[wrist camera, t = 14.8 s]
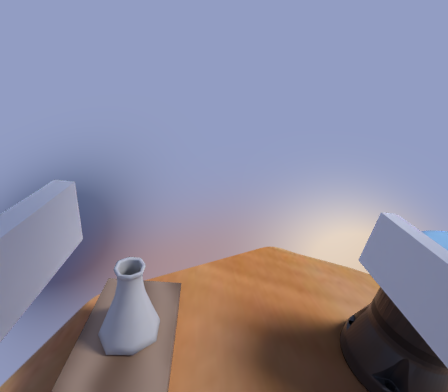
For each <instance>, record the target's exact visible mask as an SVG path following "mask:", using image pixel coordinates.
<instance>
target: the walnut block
mask: <svg viewBox="0 0 448 392" xmlns="http://www.w3.org/2000/svg"><path fill="white" fill-rule="evenodd" d="M143 282H144V287H145V290H146V293H147V295H148V297H149V299H150V301H151V303H152V305H153V307H154V309H155V311H156V312H157V314H158V316H159V318H160V324H159V329H158V335H157V340H156V342H154V343H152V344H151V345H149V346H147V347H146V348H144V349H142V350H141V351H139V352H137V353H136V354H134V355H106V353H105V351H104V348H103V346H102V343H101V341H100V338H99V336H98V334H99V331H100V329H101V326H102V324H103V322H104V319H105V317H106V315H107V312H108V310H109V308H110V306H111V303H112V301H113V298H114V296H115V291H116V287H117V279H111V278H109V279H108V281H107V283H106V285H105V287H104V289H103V290H102V292H101V294H100V296H99V298H98V300H97V302H96V304H95V306H94V308H93V310H92V312H91V314H90V316H89V318H88V320H87V322H86V324H85V326H84V328H83V330H82V332H81V334H80V336H79V338H78V340H77V342H76V344H75V346H74V348H73V350H72V352H71V354H70V356H69V358H68V360H67V361H66V363H65V365H64V367H63V369H62V371H61V373H60V375H59V377H58V379H57V381H56V383H55V385H54V387H53V389H52V391H51V392H168V388H169V380H170V372H171V364H172V357H173V349H174V341H175V333H176V325H177V317H178V309H179V299H180V290H181V283H171V282H156V281H143Z"/></svg>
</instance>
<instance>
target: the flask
mask: <svg viewBox="0 0 448 392" xmlns="http://www.w3.org/2000/svg"><path fill="white" fill-rule="evenodd" d="M144 269H145V263H144V262H143V260H142V259H141V258H135V257H128V258H125V259H122V260H119V261H117V263H116V265H115V267H114V272H115V274H116V276H117V287H116V291H115V296H114V298H113V301H112V303H111V306H110V308H109V310H108V312H107V315H106V317H105V319H104V322H103V324H102V326H101V329H100V331H99V334H98V336H99V338H100V341H101V343H102V346H103V348H104V351H105V353H106V355H134V354H136V353H137V352H139V351H141V350H142V349H144V348H146V347H147V346H149V345H151V344H152V343H154V342H156V340H157V335H158V329H159V324H160V318H159V316H158V314H157V312H156V311H155V309H154V307H153V305H152V303H151V301H150V299H149V297H148V295H147V293H146V290H145V287H144V282H143V272H144Z"/></svg>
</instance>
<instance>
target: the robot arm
mask: <svg viewBox="0 0 448 392" xmlns="http://www.w3.org/2000/svg"><path fill="white" fill-rule="evenodd" d="M82 239H83V236H82V230H81V222H80V215H79V207H78V201H77V193H76V186H75V182H72V181H62V180H53V181H51V182H50V183H48V184H47V185H45V186H44V187H42V188H41V189H39V190H37V191H36V192H34V193H33V194H31V195H30V196H28V197H27V198H25V199H23V200H22V201H20V202H19V203H17V204H16V205H14V206H12V207H11V208H9V209H8V210H6V211H5V212H3V213H2V214H0V342H1V341H2V340H3V338H4V337H5V336H6V335H7V334H8V332H9V331H10V330H11V329H12V327H13V326H14V325H15V324H16V322H17V321H18V320H19V319H20V317H21V316H22V315H23V313H24V312H25V311H26V310H27V308H28V307H29V306H30V305H31V303H32V302H33V301H34V300H35V298H36V297H37V296H38V295H39V293H40V292H41V291H42V290H43V288H44V287H45V286H46V285H47V283H48V282H49V281H50V280H51V278H52V277H53V276H54V275H55V273H56V272H57V271H58V270H59V268H60V267H61V266H62V265H63V263H64V262H65V261H66V260H67V258H68V257H69V256H70V255H71V253H72V252H73V251H74V250H75V248H76V247H77V246H78V245H79V243H80V242H81V241H82ZM359 261H360V263H361V264H362V265H363V266H364V267H365V269H366V270H367V271H368V272H369V273H370V275H371V276H372V277H373V278H374V280H375V281H376V282H377V283H378V284H379V286H380V288H379V290H378V292H377V293H376V295H375V297H374V299H373V301H372V302H371V303H370V304H369V305H367V306H366V307H364V308H363V309H361V310H360V311H358V312H357V313H355V314H354V315H352V316H351V317H350V318H349V319H348V320H347V322H346V323H345V325H344V327H343V329H342V331H341V335H340V344H341V349H342V352H343V355H344V357H345V359H346V361H347V363H348V365H349V367H350V368H351V370H352V371H353V373H354V374H355V376H356V377H357V378H358V379H359V381H360V382H361V383H362V384H363V385H364V386H365V387H366V388H367V389H368V390H369V391H370V392H448V232H446V231H422V232H421V231H420V230H418V229H417V228H416V227H414V226H413V225H411V224H410V223H409V222H407V221H406V220H404V219H403V218H402V217H400V216H399V215H397V214H392V213H381V214H380V216H379V219H378V220H377V223H376V225H375V227H374V229H373V231H372V233H371V235H370V237H369V239H368V241H367V243H366V246H365V248H364V250H363V252H362V254H361V256H360V258H359Z"/></svg>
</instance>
